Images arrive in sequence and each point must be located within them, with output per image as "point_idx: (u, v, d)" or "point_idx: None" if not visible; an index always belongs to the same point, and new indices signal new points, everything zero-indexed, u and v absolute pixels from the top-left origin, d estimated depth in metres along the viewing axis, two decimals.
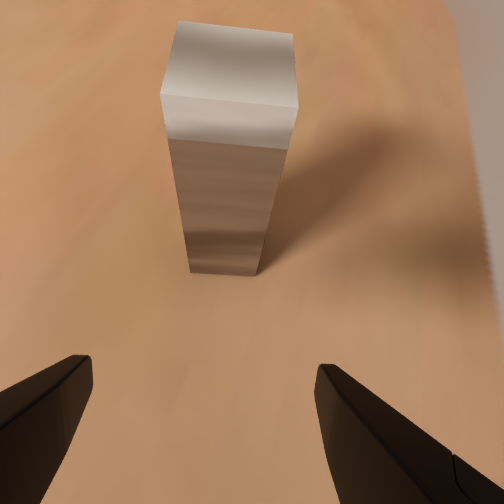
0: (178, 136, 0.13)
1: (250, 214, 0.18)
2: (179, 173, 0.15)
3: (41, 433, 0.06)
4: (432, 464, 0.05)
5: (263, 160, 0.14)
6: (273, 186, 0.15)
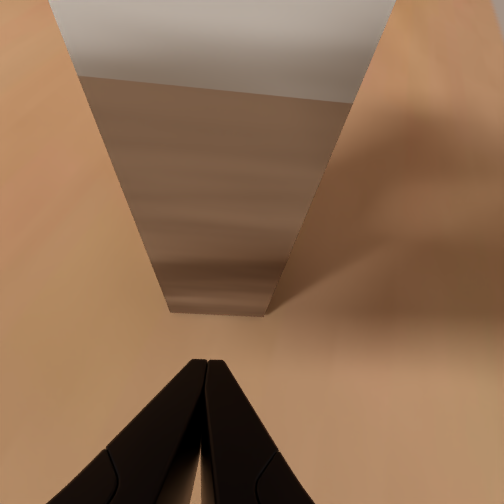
0: (102, 69, 0.06)
1: (261, 236, 0.10)
2: (123, 161, 0.07)
3: (194, 436, 0.06)
4: (244, 462, 0.05)
5: (295, 130, 0.07)
6: (308, 187, 0.08)
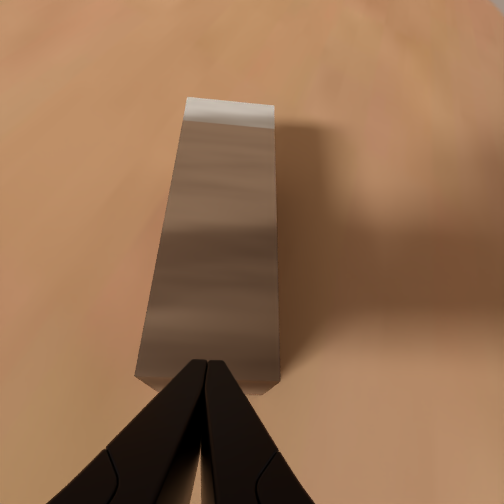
0: (191, 119, 0.17)
1: (252, 196, 0.15)
2: (183, 147, 0.16)
3: (194, 436, 0.06)
4: (245, 462, 0.05)
5: (257, 136, 0.17)
6: (270, 159, 0.16)
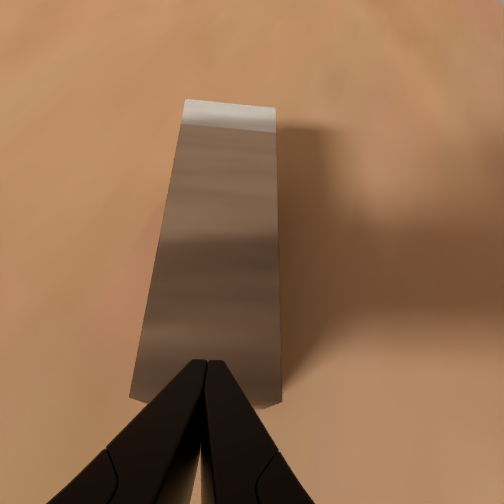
0: (190, 122, 0.17)
1: (252, 204, 0.14)
2: (181, 152, 0.16)
3: (194, 436, 0.06)
4: (245, 462, 0.05)
5: (258, 140, 0.16)
6: (272, 165, 0.16)
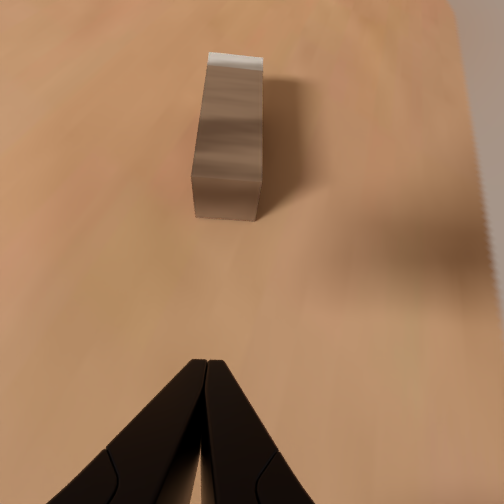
0: (212, 64, 0.28)
1: (248, 105, 0.26)
2: (208, 79, 0.27)
3: (194, 436, 0.06)
4: (244, 462, 0.05)
5: (252, 74, 0.28)
6: (260, 87, 0.28)
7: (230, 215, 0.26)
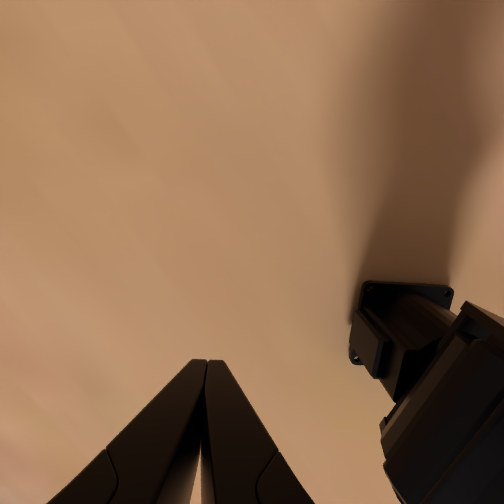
0: None
1: None
2: None
3: (194, 436, 0.06)
4: (244, 462, 0.05)
5: None
6: None
7: None
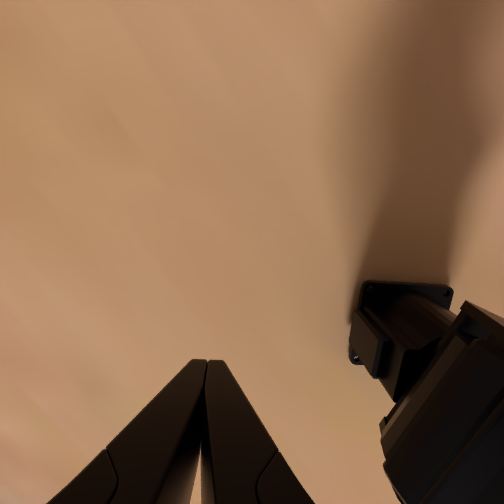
0: None
1: None
2: None
3: (194, 436, 0.06)
4: (244, 462, 0.05)
5: None
6: None
7: None
